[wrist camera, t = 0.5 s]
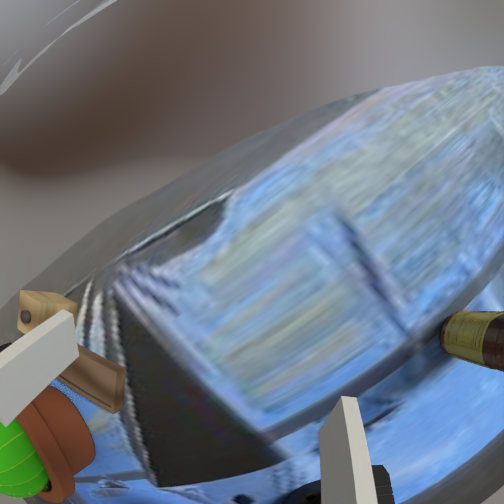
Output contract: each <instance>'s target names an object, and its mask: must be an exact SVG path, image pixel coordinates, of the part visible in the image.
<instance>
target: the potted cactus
mask: <svg viewBox="0 0 504 504" xmlns="http://www.w3.org/2000/svg"><path fill="white" fill-rule="evenodd" d="M94 458H95V446H94V442H93V439H92V436H91V434H90V431H89V429H88V427H87V425H86V423H85V421H84V420H83V418H82V416H81V415H80V413H79V411H78V410H77V408H76V407H75V406H74V404H73V403H72V402H71V401H70V400H69V398H68V397H67V396H66V395H65V394H63V393H62V392H61V391H60V390H58V389H56V388H55V387H52V386H49V385H48V386H47V387H46V388H45V389H44V390H43V391H42V392H41V393H39V394H38V395H37V396H36V397H35V398H34V399H33V400H32V401H31V402H30V403H29V404H28V405H27V406H26V407H25V408H24V409H23V410H22V411H21V412H20V413H19V414H18V415H17V416H16V417H15V418H14V419H13V420H12V422H11V423H10V424H9V425H8V426H7V427H5V426H4V425H3V424H2V423H1V422H0V492H1V493H3V494H5V495H8V496H12V497H18V498H25V497H30V496H31V497H32V496H33V495H35V494H37V495H38V496H40V497H42V498H43V499H45V500H47V501H50V502H53V503H60V502H62V501H64V500H65V499H66V498H68V497H69V496H70V495H72V494H73V493H74V491H75V481H74V477H73V476H74V475H75V474H77V473H78V472H79V471H81V470H82V469H84V468H85V467H86V466H88V465H89V464H90V463H91V462H92V461H93V460H94Z"/></svg>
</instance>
